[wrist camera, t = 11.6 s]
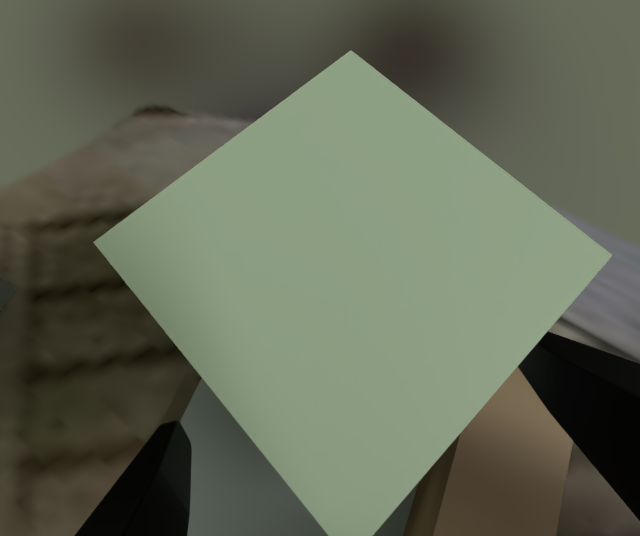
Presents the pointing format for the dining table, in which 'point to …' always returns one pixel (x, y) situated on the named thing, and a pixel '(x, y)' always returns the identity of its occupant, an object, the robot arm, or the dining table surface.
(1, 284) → the dice cube
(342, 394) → the post
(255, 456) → the board
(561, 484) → the beam
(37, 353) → the dining table surface
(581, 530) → the dining table surface
